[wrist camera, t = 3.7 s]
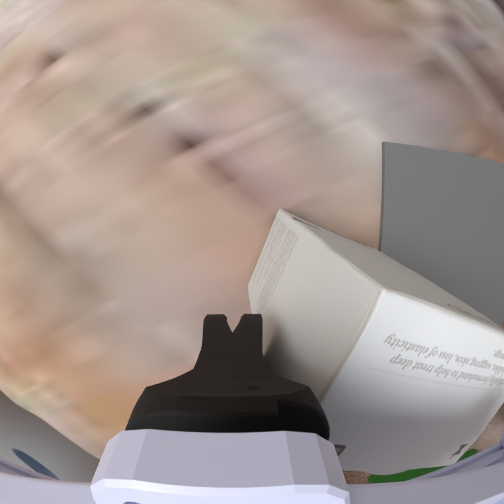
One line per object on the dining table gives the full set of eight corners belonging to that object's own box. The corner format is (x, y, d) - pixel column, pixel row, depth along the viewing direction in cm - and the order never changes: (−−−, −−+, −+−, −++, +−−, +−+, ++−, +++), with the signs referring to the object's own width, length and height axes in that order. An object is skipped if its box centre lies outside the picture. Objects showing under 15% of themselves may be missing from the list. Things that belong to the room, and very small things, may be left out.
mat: (493, 346, 24) (495, 348, 24) (361, 373, 23) (362, 375, 23) (520, 168, 20) (523, 169, 20) (382, 142, 19) (384, 141, 19)
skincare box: (378, 249, 21) (545, 341, 7) (343, 323, 22) (459, 469, 8) (271, 204, 20) (398, 274, 5) (237, 290, 21) (272, 481, 6)
